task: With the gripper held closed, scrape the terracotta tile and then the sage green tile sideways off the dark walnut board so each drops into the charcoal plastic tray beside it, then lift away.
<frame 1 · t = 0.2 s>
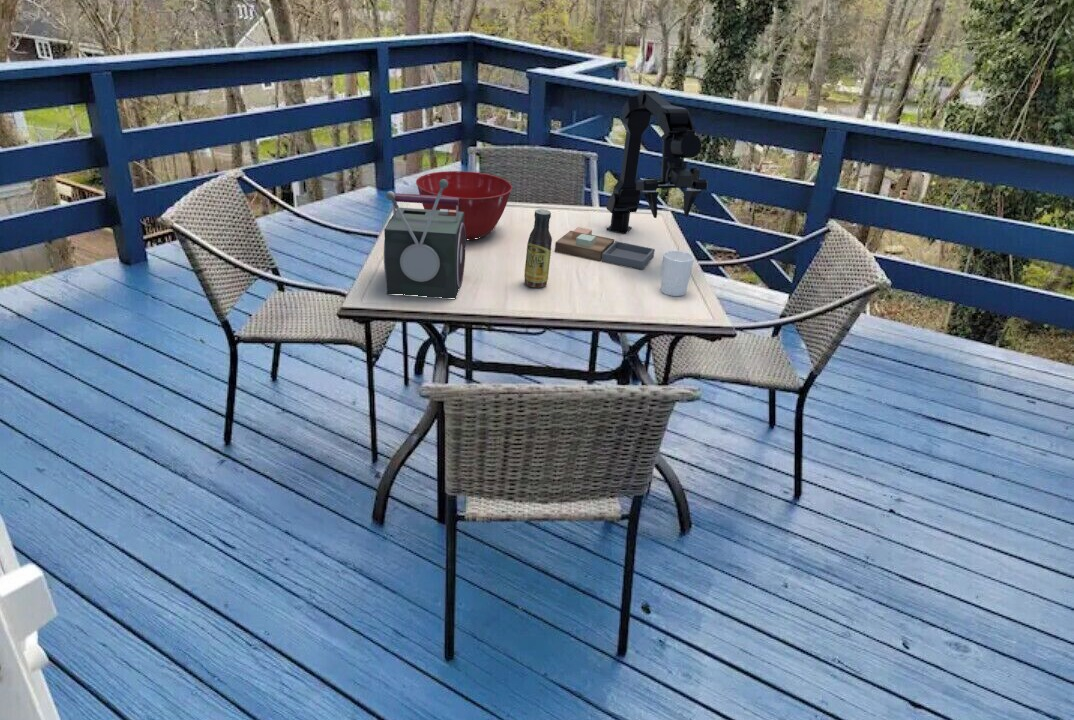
hand: (670, 217, 204), 15 cm above the table, tool pointing down, fingers open, 9 cm apart
boombox: (426, 285, 193), on the table
walnut board: (584, 250, 222), on the table
terracotta tile: (581, 236, 223), point 3 cm above the table, touching walnut board
sage tile: (585, 243, 218), point 3 cm above the table, touching walnut board
sauce bottle: (536, 285, 197), on the table
mixing bowl: (463, 233, 229), on the table
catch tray: (628, 259, 217), on the table
white cup: (672, 291, 199), on the table
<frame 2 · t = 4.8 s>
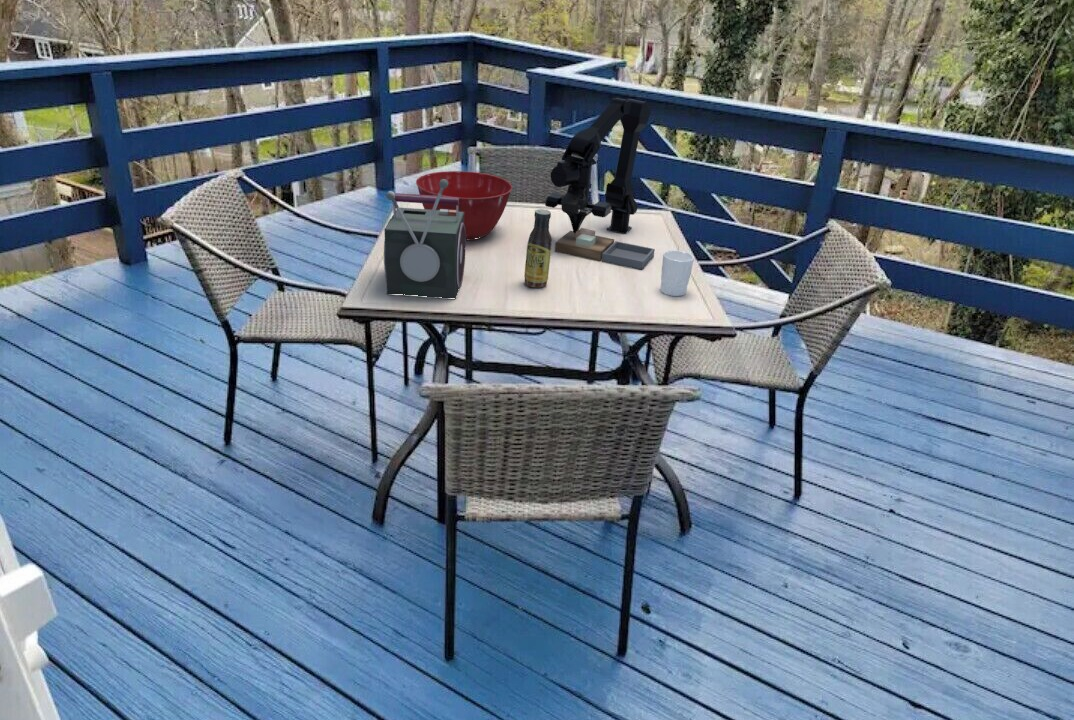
hand: (575, 233, 223), 4 cm above the table, tool pointing down, fingers closed
terracotta tile: (585, 237, 223), point 3 cm above the table, touching gripper, walnut board
everything else where it was.
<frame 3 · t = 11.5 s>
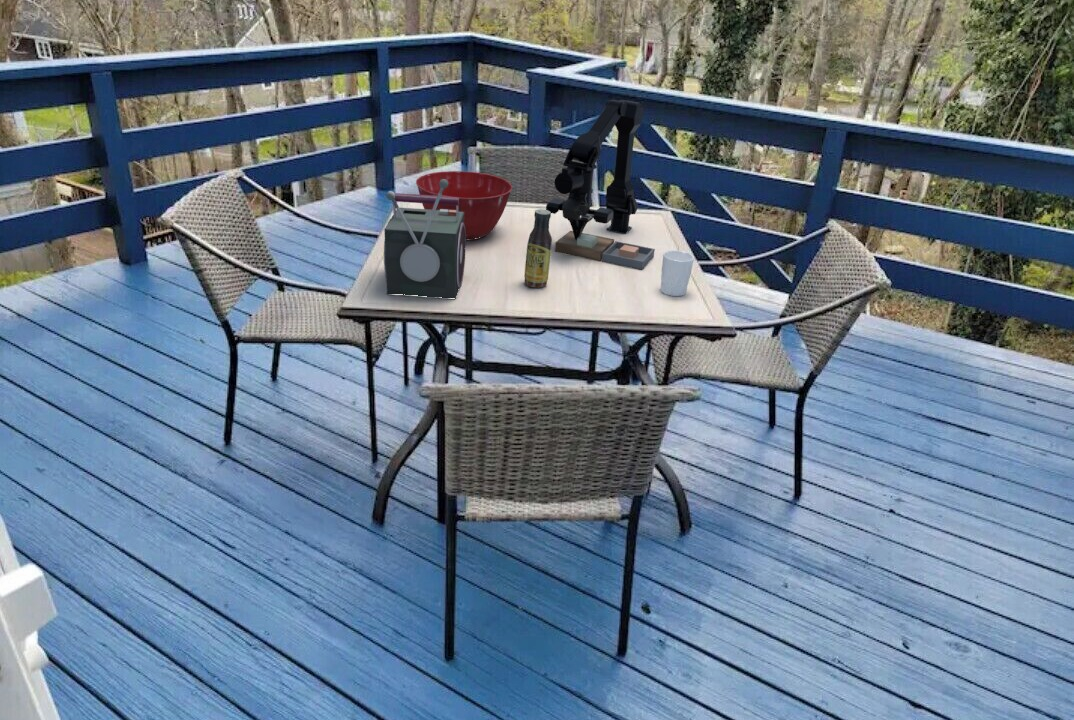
hand: (576, 239, 218), 4 cm above the table, tool pointing down, fingers closed
terracotta tile: (629, 248, 218), point 3 cm above the table, tilted 180°, touching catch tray
sage tile: (586, 244, 218), point 3 cm above the table, touching gripper, walnut board
everything else where it was.
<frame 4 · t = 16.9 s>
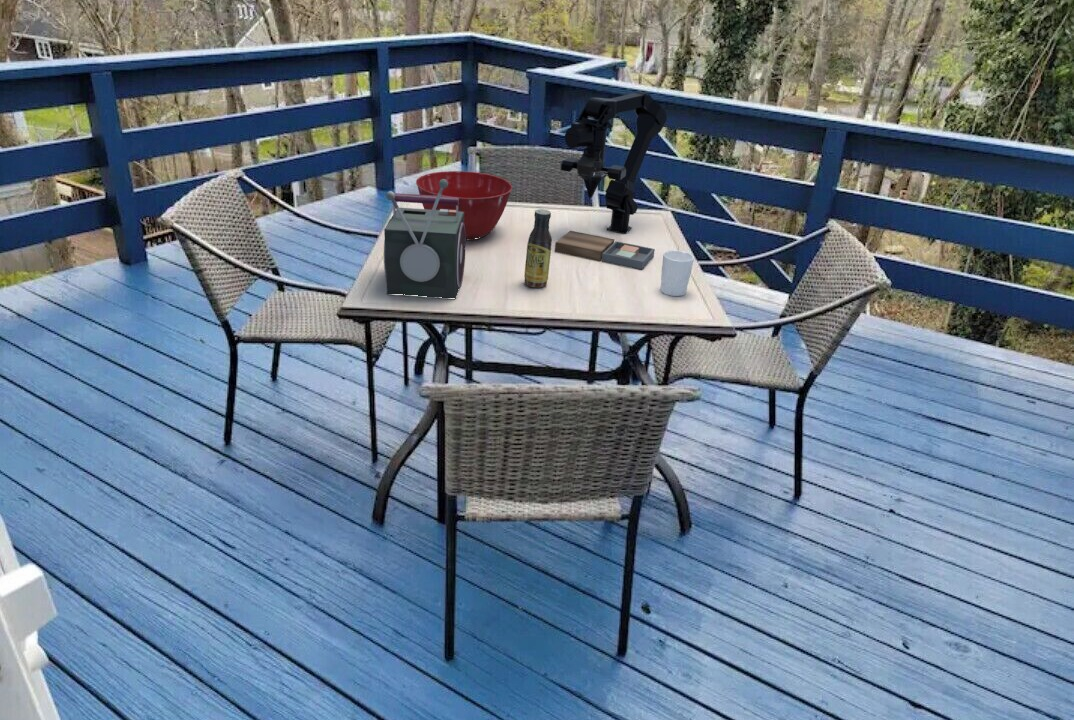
hand: (590, 197, 225), 13 cm above the table, tool pointing down, fingers closed
sage tile: (625, 253, 214), point 3 cm above the table, tilted 180°, touching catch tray
everything else where it was.
at the end: terracotta tile inside the target area on the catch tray (2.1 cm from its centre), point 2.6 cm above the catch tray's base; sage tile inside the target area on the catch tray (2.8 cm from its centre), point 2.6 cm above the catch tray's base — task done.
